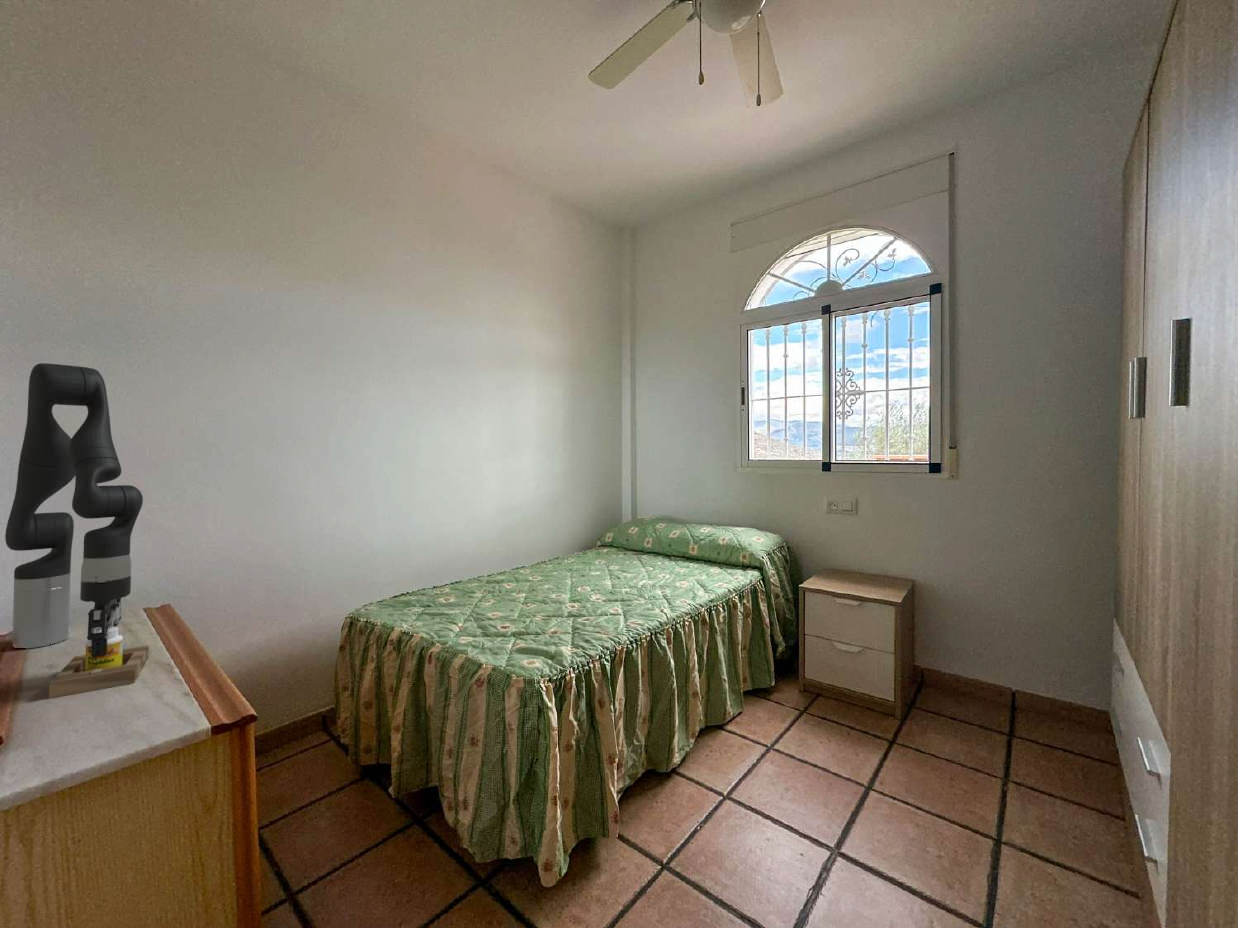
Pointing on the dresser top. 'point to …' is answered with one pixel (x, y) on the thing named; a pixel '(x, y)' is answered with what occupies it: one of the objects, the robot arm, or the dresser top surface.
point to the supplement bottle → (112, 654)
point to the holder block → (98, 674)
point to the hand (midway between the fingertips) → (104, 649)
